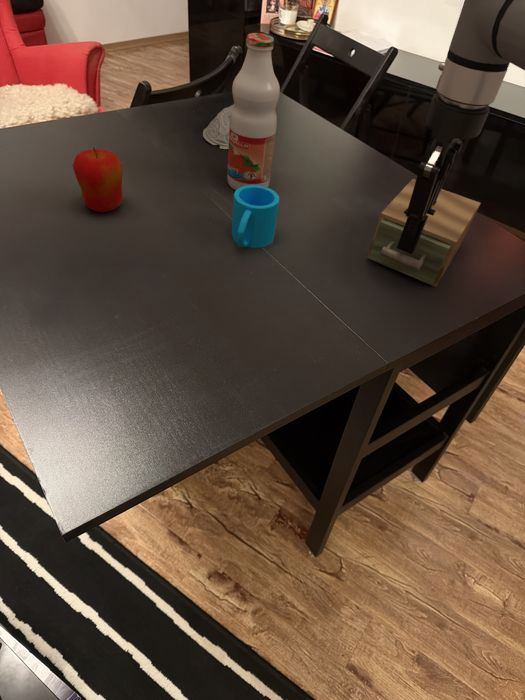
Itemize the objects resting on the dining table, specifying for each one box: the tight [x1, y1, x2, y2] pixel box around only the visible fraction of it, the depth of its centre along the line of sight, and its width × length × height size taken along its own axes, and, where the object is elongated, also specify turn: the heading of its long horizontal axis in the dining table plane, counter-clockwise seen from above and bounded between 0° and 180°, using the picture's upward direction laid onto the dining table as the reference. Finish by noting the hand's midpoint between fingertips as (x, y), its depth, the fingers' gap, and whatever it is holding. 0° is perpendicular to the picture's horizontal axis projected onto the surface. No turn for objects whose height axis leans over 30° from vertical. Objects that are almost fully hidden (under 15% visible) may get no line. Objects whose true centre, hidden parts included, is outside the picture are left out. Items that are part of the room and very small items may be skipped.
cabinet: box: [366, 178, 482, 288], centre depth 90 cm, size 17×14×10 cm
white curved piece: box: [202, 103, 234, 150], centre depth 122 cm, size 16×25×7 cm, turn 153°
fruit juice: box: [226, 32, 281, 191], centre depth 95 cm, size 9×9×28 cm
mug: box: [231, 185, 280, 249], centre depth 87 cm, size 12×8×8 cm
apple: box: [72, 146, 124, 213], centre depth 89 cm, size 9×8×12 cm
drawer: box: [369, 219, 451, 286], centre depth 87 cm, size 20×12×8 cm, turn 148°
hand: (405, 249), depth 80 cm, fingers closed
